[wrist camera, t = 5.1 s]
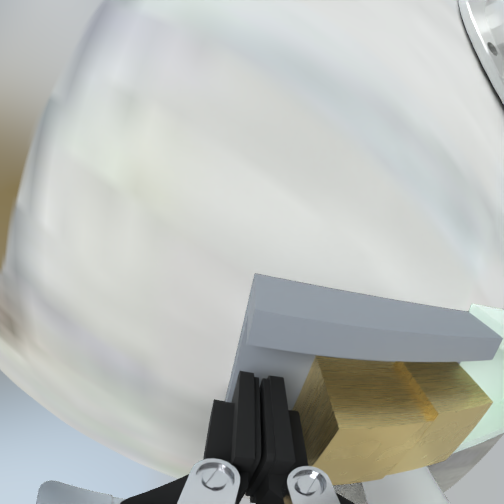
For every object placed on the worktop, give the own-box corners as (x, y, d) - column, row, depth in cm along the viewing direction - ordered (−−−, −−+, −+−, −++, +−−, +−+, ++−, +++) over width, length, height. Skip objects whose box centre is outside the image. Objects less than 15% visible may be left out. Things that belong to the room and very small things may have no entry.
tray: (471, 303, 11) (510, 330, 8) (545, 316, 12) (569, 333, 9) (401, 427, 14) (419, 463, 10) (497, 407, 14) (513, 427, 11)
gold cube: (315, 355, 10) (339, 428, 7) (395, 362, 11) (434, 420, 7) (287, 419, 11) (296, 486, 7) (360, 421, 12) (381, 479, 8)
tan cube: (398, 356, 10) (439, 414, 7) (452, 357, 11) (493, 402, 7) (362, 417, 11) (385, 475, 8) (418, 413, 12) (445, 460, 8)
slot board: (254, 273, 11) (255, 309, 8) (468, 311, 11) (503, 338, 8) (221, 416, 13) (215, 463, 10) (405, 423, 13) (423, 456, 10)
